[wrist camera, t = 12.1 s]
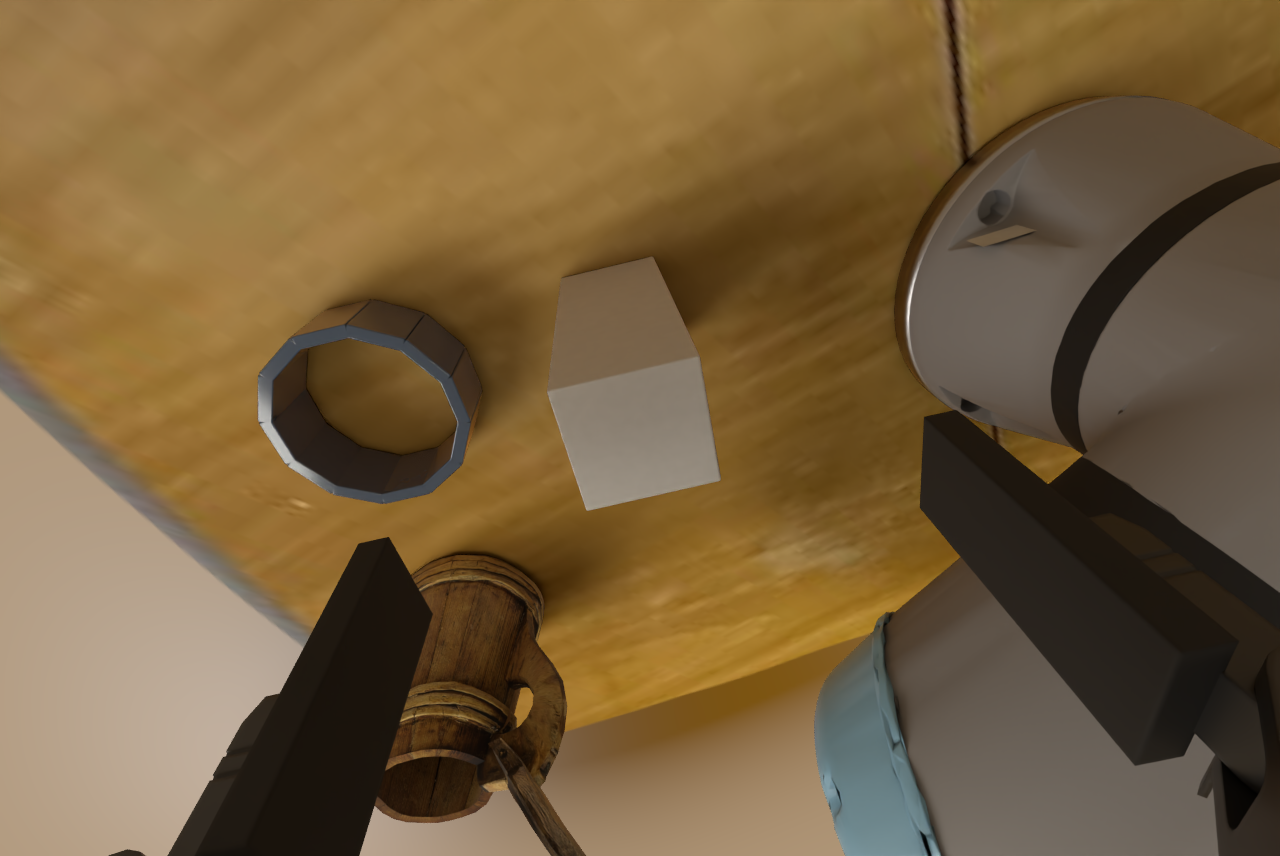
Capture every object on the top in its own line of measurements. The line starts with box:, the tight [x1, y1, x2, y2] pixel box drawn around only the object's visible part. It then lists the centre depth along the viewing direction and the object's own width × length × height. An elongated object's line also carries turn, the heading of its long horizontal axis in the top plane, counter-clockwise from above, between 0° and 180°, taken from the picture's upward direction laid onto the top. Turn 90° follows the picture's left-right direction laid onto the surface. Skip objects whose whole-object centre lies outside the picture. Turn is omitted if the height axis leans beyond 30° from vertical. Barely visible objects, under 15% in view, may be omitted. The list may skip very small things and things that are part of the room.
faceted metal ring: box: [258, 299, 482, 504], centre depth 27 cm, size 9×9×4 cm
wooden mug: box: [375, 555, 586, 856], centre depth 28 cm, size 9×14×18 cm, turn 108°
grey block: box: [547, 257, 721, 511], centre depth 22 cm, size 4×4×12 cm
